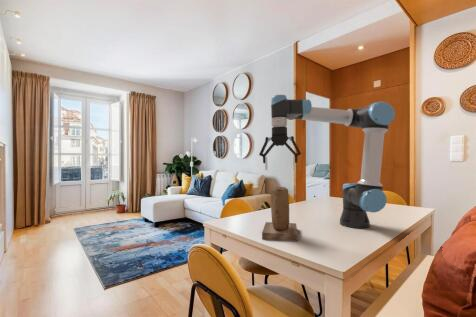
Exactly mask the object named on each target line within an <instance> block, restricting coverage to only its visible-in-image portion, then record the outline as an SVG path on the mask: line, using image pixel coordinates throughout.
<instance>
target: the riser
mask: <svg viewBox="0 0 476 317" xmlns="http://www.w3.org/2000/svg"><path fill="white" fill-rule="evenodd" d="M297 227H298V226H297V223H294V222H289V228H288V229H286V230H277V229H274V228H273V225H272V221H271V222H270V221H266V222H265V224H264V226H263V229H262V231H261V240H270V241H271V240H274V241H291V242H298V229H297Z"/></svg>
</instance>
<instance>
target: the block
mask: <svg viewBox="0 0 476 317" xmlns="http://www.w3.org/2000/svg"><path fill="white" fill-rule="evenodd" d="M270 210H271V211H270V213H271V222H272V225H273V228H274V229H277V230H286V229H288V228H289V223H290V199H289V189H288V188H287V187H285V186H276V187H275V186H274V187H273V188H272V189H271V194H270Z"/></svg>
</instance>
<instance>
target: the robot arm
mask: <svg viewBox="0 0 476 317" xmlns="http://www.w3.org/2000/svg"><path fill="white" fill-rule="evenodd" d="M270 100H271V103H270V110H271V112H270V113H271V127H272V128H271V137H268V136H266V137H265V139H264V143H263V146H262V148H261V149H260V152H259V156H260V157H262V164H264V167H265V171H268V157H267V155H268V154H269V153H270V152H271V150H272V149H273V147H275V146H276V147H279V146H281V147H283V146H286V148H288V150H289V151H290V152H291V153H292V155H293V156H292V157H293V158H292V163H293V164H292V165H293V167H292V168H293V170H296V164H297V163H298V156H300V155H301V154H302V153H301V151H300V149H299V147H298V145H297V143H296V142H295V137H294V136H293V135H292V136H288V126H287V125H288V120H289V121H293V120H299V121H300V120H301V121H310V122H320V123H328V124H329V123H332V124H340V125H344V126H345V127H351V128H358V129H361V130H362V132H363V133H364V138H363V139H364V140H363V149H362V150H363V151H362V158H361V159H362V160H361V170H360V180H358V181H357V182H355V183H354V182H353V183H351V182H350V183H344V184H343V185H342V212H341V214H340V218H339V224H340V225H342V226H344V227H347V228H354V229H366V228H367V229H368V228H369V227H370V226H371V224H370V223H371V222H370V219H369V216H368V213H377V212H380V211H382V210H383V209H384V208H385V206H386V205H387V200H388V199H387V195H386V194H385V192H384V190H383V189H384V188H383V187H384V185H383V184H382V183H381V173H382V172H381V171H382V162H383V151H384V142H385V141H384V140H385V134H386V133H387V132H388V131H389V126H390V125H389V124H391V123H392V122H393V121H394V119H395V117H396V113H395V109H394V107H393V106H392V105H391V104H390V103H388V102H386V101H378V102H373V103H371V104H368V105H366V106H364V107H363V106H362V107H360V108H359V107H358V108H348V109H346V110H345V109H336V108H329V107H328V108H326V107H316V106H312V101H311V100H310V99H304V98H301V99H288V98H287V95H285V94H275V95H273V96H272V97H271V99H270ZM288 140H289V141H290V142H291V143H292V145H293V146H294V149H295V150H296V151H295V150H294V149H293V148H292V147H291V146H290V144H288ZM270 141H271V142H272V143H271V144H270V145H269V147H268V149H266V148H267V145H268V143H269V142H270ZM265 149H266V151H265ZM296 152H297V153H296Z"/></svg>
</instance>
